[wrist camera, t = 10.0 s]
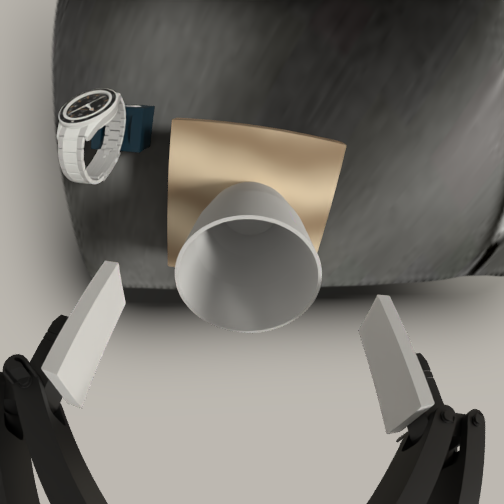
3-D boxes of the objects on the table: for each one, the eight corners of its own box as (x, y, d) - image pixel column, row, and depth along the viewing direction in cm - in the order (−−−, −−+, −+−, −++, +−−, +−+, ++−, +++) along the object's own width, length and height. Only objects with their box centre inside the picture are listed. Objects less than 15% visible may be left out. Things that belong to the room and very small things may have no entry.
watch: (157, 87, 23) (104, 89, 14) (148, 161, 27) (100, 201, 18) (109, 87, 23) (44, 94, 13) (103, 157, 27) (45, 194, 17)
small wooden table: (188, 113, 25) (171, 119, 20) (328, 134, 26) (346, 145, 21) (180, 236, 32) (168, 266, 27) (299, 251, 33) (307, 283, 28)
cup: (191, 175, 22) (153, 233, 14) (290, 154, 21) (314, 201, 13) (217, 256, 26) (201, 339, 18) (303, 241, 25) (325, 321, 17)
